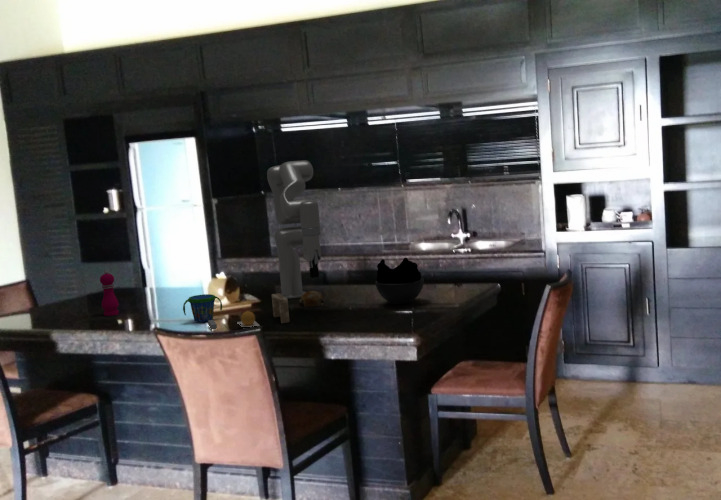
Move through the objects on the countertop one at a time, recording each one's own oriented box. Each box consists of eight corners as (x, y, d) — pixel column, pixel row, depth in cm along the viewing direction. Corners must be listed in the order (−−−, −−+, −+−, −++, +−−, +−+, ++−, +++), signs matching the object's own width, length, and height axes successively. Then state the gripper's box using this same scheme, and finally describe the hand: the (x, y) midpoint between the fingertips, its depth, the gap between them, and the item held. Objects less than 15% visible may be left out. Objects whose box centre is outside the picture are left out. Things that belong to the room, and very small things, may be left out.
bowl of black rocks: (435, 300, 316) (432, 256, 313) (404, 310, 302) (401, 264, 299) (398, 296, 330) (395, 254, 327) (367, 306, 315) (363, 261, 313)
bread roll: (317, 315, 322) (323, 298, 320) (295, 306, 323) (301, 289, 322) (322, 310, 332) (329, 293, 330) (301, 301, 333) (307, 284, 331)
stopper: (208, 326, 300) (207, 320, 299) (213, 326, 300) (212, 319, 300) (212, 331, 291) (211, 325, 291) (217, 330, 292) (216, 324, 292)
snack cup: (222, 316, 318) (220, 292, 316) (224, 321, 308) (221, 296, 306) (184, 320, 314) (181, 296, 313) (184, 326, 304) (181, 301, 303)
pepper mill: (123, 312, 341) (117, 268, 338) (113, 316, 334) (107, 271, 332) (109, 312, 344) (104, 268, 341) (99, 316, 337) (93, 271, 334)
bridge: (282, 323, 296) (280, 300, 295) (273, 316, 309) (271, 294, 308) (289, 322, 297) (287, 299, 296) (280, 315, 310) (278, 293, 309)
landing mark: (223, 324, 302) (223, 324, 302) (253, 320, 306) (253, 319, 306) (229, 330, 290) (228, 330, 290) (259, 325, 294) (259, 325, 294)
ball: (238, 312, 298) (251, 308, 300) (241, 326, 299) (255, 322, 300) (240, 314, 293) (254, 310, 295) (244, 328, 294) (257, 323, 295)
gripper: (297, 231, 310) (300, 275, 312) (306, 234, 296) (310, 281, 298) (314, 229, 312) (318, 273, 315) (325, 232, 298) (329, 278, 301)
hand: (314, 277), depth 306 cm, fingers closed
